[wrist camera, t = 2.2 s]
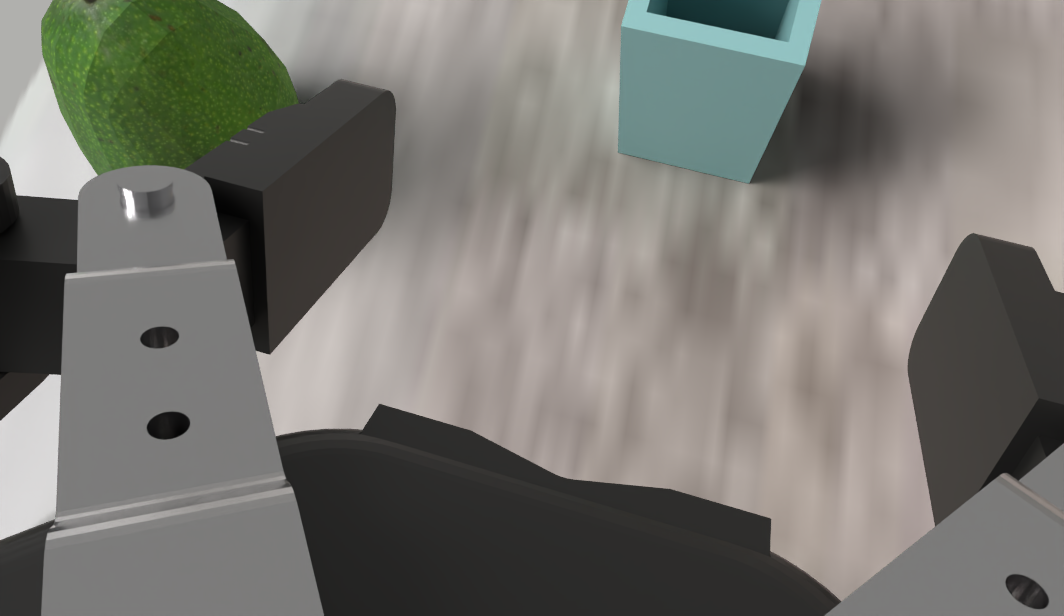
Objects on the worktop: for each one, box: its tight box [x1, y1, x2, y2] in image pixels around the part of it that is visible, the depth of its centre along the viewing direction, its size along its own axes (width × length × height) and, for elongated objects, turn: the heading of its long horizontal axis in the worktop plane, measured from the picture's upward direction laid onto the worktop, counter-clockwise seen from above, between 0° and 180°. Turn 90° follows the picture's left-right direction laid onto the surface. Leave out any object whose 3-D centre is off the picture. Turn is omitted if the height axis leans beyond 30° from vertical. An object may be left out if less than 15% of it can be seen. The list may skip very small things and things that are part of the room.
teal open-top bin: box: [618, 0, 821, 183], centre depth 30 cm, size 5×5×10 cm
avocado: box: [41, 0, 299, 176], centre depth 30 cm, size 8×8×12 cm
